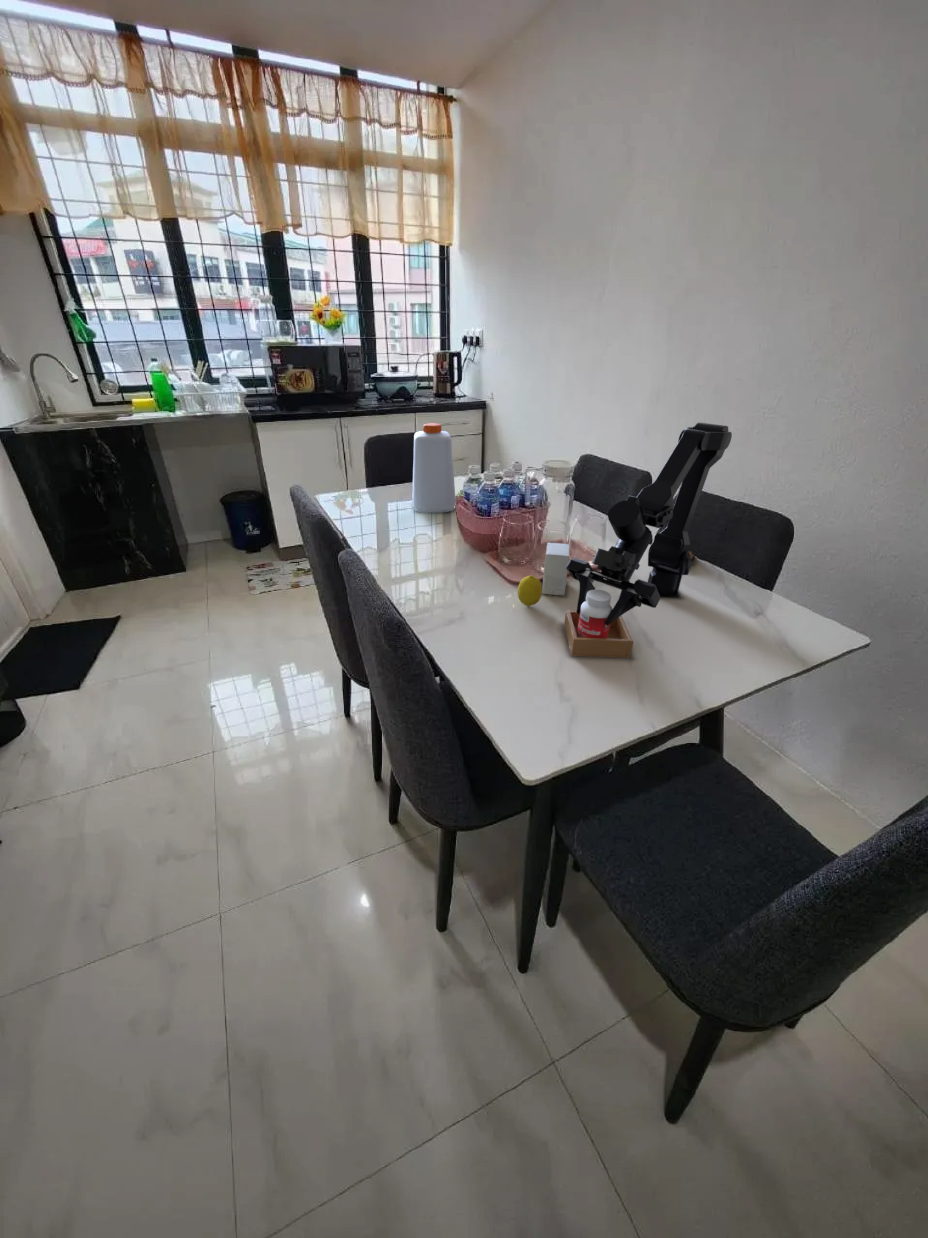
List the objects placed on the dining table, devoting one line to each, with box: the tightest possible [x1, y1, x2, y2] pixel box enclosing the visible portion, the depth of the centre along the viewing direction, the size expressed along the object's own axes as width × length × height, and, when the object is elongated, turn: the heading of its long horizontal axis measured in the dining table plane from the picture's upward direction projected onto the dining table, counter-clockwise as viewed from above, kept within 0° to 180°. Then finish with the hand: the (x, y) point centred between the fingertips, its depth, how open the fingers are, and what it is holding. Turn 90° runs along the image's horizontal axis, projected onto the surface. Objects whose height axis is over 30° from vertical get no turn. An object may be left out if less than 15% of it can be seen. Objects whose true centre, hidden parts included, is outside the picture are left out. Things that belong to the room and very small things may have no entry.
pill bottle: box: [577, 589, 613, 638], centre depth 101 cm, size 6×6×11 cm
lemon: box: [517, 574, 543, 608], centre depth 115 cm, size 6×6×8 cm
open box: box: [563, 609, 635, 659], centre depth 104 cm, size 12×12×4 cm
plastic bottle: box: [411, 422, 456, 514], centre depth 173 cm, size 15×15×28 cm
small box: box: [542, 542, 571, 596], centre depth 123 cm, size 8×6×10 cm
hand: (591, 618), depth 99 cm, fingers closed on pill bottle, 6 cm apart
